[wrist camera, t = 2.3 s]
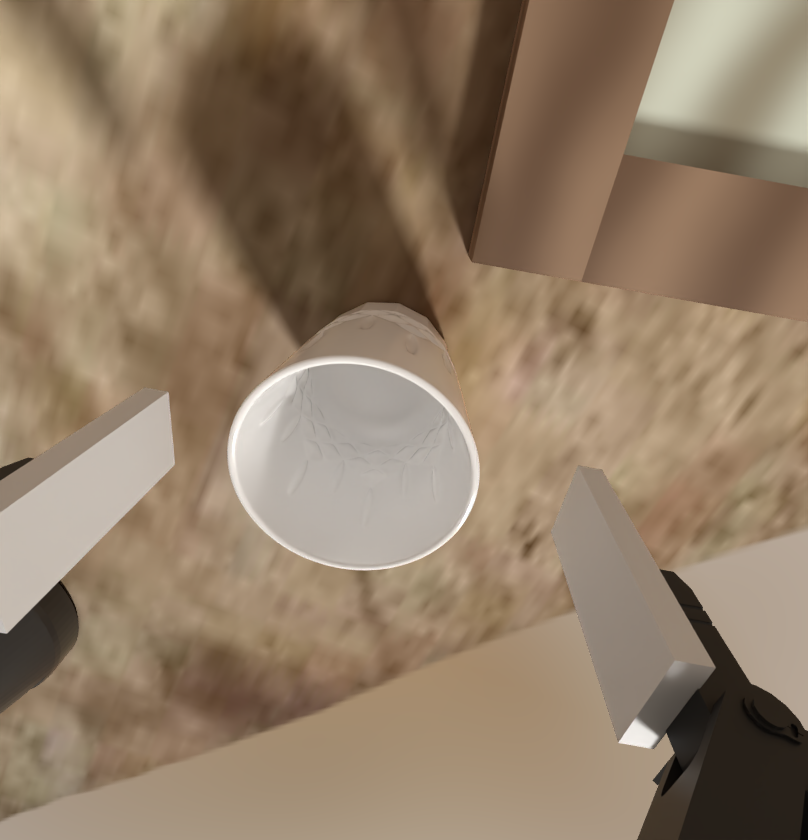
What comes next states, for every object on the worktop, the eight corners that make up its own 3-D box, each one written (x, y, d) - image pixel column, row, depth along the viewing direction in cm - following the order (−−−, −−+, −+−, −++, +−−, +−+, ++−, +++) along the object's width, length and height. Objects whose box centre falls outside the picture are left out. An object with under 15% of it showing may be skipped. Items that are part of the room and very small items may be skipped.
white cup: (423, 259, 20) (415, 309, 11) (484, 404, 23) (515, 531, 14) (278, 328, 22) (174, 417, 13) (352, 454, 25) (307, 595, 16)
